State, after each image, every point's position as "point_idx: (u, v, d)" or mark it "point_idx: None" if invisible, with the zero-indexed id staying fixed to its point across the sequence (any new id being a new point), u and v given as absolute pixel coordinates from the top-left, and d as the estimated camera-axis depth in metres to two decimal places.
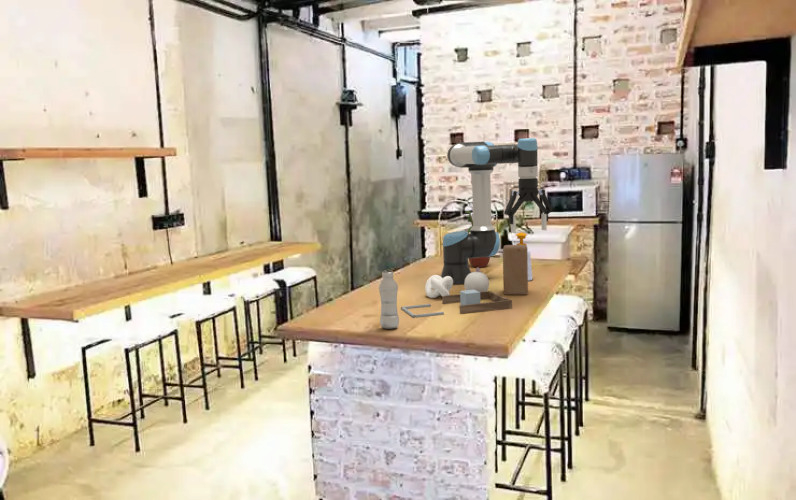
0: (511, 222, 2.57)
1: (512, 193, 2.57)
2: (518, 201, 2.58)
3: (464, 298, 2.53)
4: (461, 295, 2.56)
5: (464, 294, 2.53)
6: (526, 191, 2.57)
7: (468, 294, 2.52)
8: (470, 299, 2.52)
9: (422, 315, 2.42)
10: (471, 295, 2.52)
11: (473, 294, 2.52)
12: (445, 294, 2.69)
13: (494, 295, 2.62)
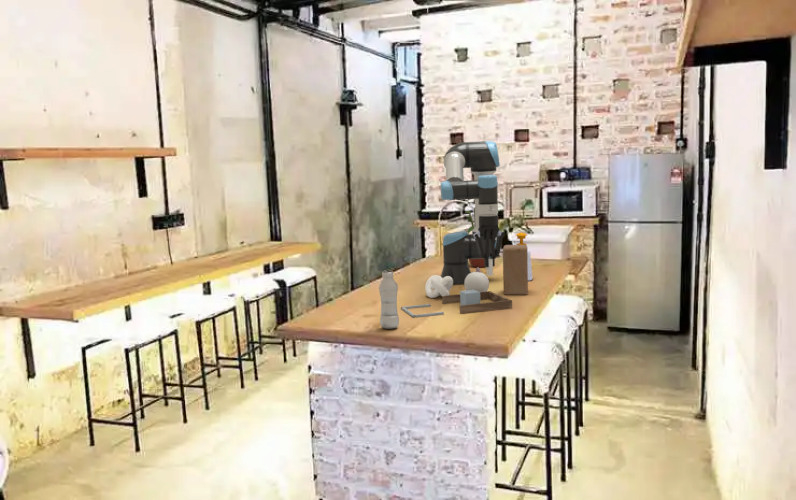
0: (486, 265, 2.55)
1: (474, 237, 2.53)
2: (484, 242, 2.54)
3: (464, 298, 2.53)
4: (461, 295, 2.56)
5: (464, 294, 2.53)
6: (484, 226, 2.52)
7: (468, 294, 2.52)
8: (470, 299, 2.52)
9: (422, 315, 2.42)
10: (471, 295, 2.52)
11: (473, 294, 2.52)
12: (445, 294, 2.69)
13: (494, 295, 2.62)
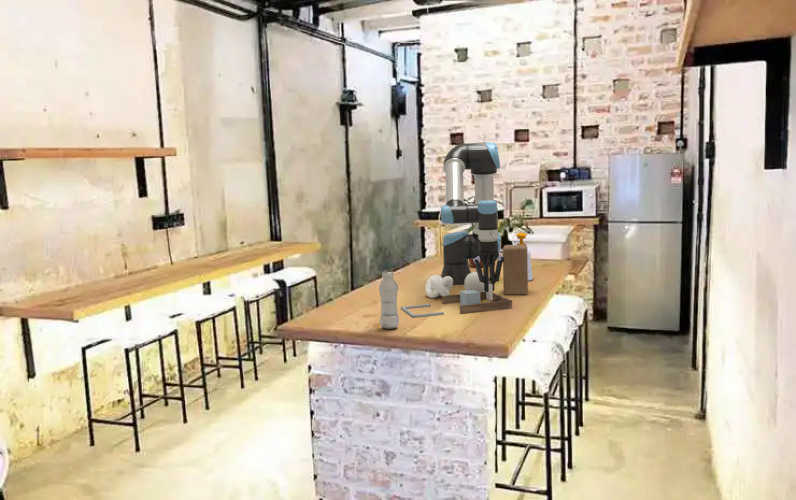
0: (486, 290, 2.56)
1: (474, 262, 2.54)
2: (484, 267, 2.56)
3: (464, 298, 2.53)
4: (461, 295, 2.56)
5: (464, 294, 2.53)
6: (484, 251, 2.54)
7: (468, 294, 2.52)
8: (470, 299, 2.52)
9: (422, 315, 2.42)
10: (471, 295, 2.52)
11: (473, 294, 2.52)
12: (445, 294, 2.69)
13: (494, 295, 2.62)
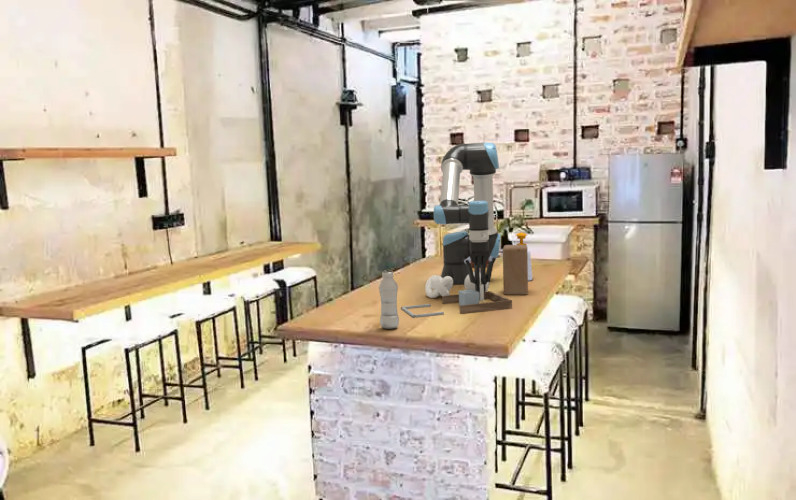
0: (477, 290, 2.55)
1: (465, 263, 2.53)
2: (475, 267, 2.54)
3: (463, 298, 2.53)
4: (460, 295, 2.56)
5: (463, 294, 2.52)
6: (475, 252, 2.52)
7: (467, 294, 2.52)
8: (469, 299, 2.52)
9: (422, 315, 2.42)
10: (470, 295, 2.52)
11: (472, 294, 2.52)
12: (445, 294, 2.69)
13: (494, 295, 2.62)
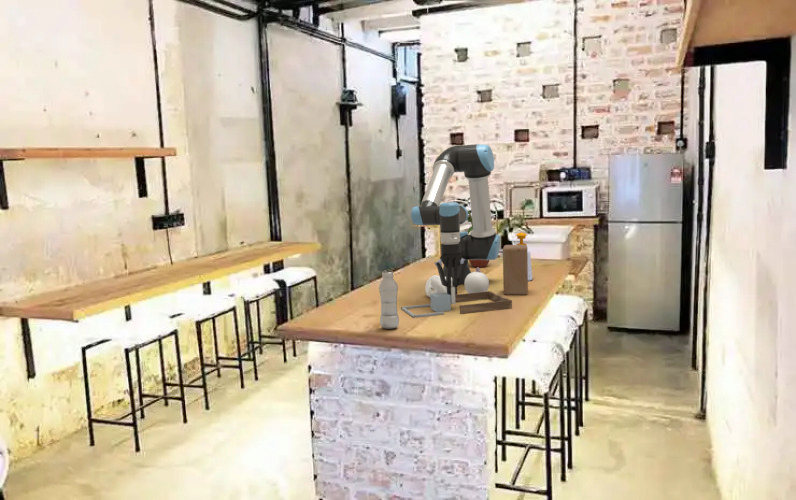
0: (449, 293, 2.52)
1: (436, 265, 2.50)
2: (446, 270, 2.51)
3: (434, 301, 2.49)
4: (431, 298, 2.52)
5: (434, 297, 2.49)
6: (446, 254, 2.49)
7: (438, 297, 2.48)
8: (440, 302, 2.49)
9: (422, 315, 2.42)
10: (441, 298, 2.48)
11: (443, 297, 2.49)
12: None
13: (494, 295, 2.62)
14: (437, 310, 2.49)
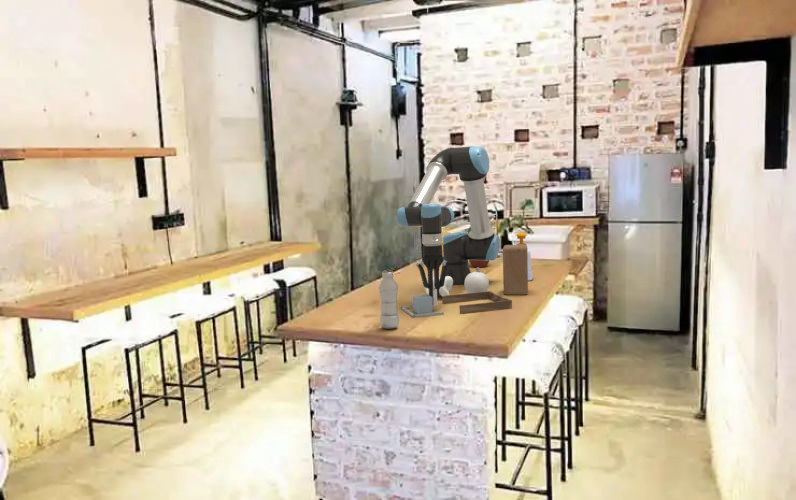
0: (431, 295, 2.50)
1: (418, 267, 2.48)
2: (428, 272, 2.49)
3: (416, 303, 2.47)
4: (413, 300, 2.50)
5: (415, 299, 2.47)
6: (428, 256, 2.47)
7: (419, 299, 2.46)
8: (422, 304, 2.47)
9: (422, 315, 2.42)
10: (423, 300, 2.46)
11: (425, 299, 2.47)
12: (445, 294, 2.69)
13: (494, 295, 2.62)
14: (419, 312, 2.47)
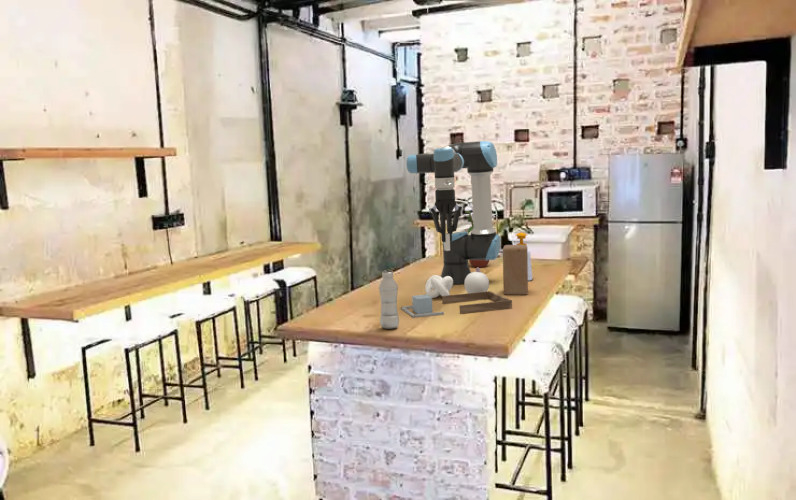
0: (443, 240, 2.50)
1: (430, 211, 2.48)
2: (441, 216, 2.50)
3: (416, 303, 2.47)
4: (413, 301, 2.50)
5: (415, 299, 2.47)
6: (441, 200, 2.48)
7: (419, 299, 2.46)
8: (422, 305, 2.47)
9: (422, 315, 2.42)
10: (422, 300, 2.46)
11: (425, 299, 2.47)
12: (445, 294, 2.69)
13: (494, 295, 2.62)
14: (419, 312, 2.47)
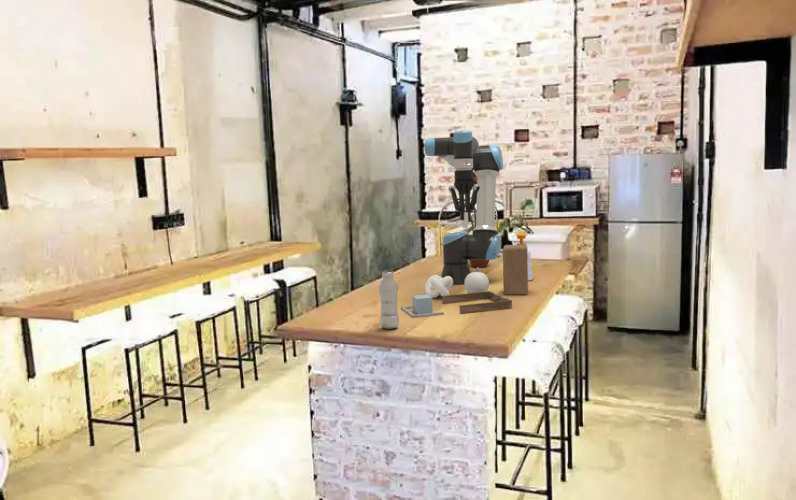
0: (462, 218, 2.64)
1: (450, 191, 2.62)
2: (460, 195, 2.63)
3: (416, 303, 2.47)
4: (413, 301, 2.50)
5: (415, 299, 2.47)
6: (460, 180, 2.61)
7: (419, 299, 2.46)
8: (422, 305, 2.47)
9: (422, 315, 2.42)
10: (422, 300, 2.46)
11: (425, 299, 2.47)
12: (445, 294, 2.69)
13: (494, 295, 2.62)
14: (419, 312, 2.47)
